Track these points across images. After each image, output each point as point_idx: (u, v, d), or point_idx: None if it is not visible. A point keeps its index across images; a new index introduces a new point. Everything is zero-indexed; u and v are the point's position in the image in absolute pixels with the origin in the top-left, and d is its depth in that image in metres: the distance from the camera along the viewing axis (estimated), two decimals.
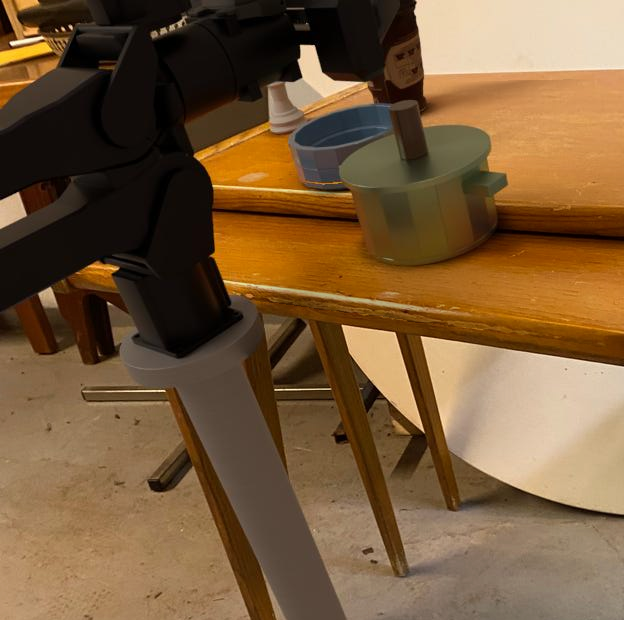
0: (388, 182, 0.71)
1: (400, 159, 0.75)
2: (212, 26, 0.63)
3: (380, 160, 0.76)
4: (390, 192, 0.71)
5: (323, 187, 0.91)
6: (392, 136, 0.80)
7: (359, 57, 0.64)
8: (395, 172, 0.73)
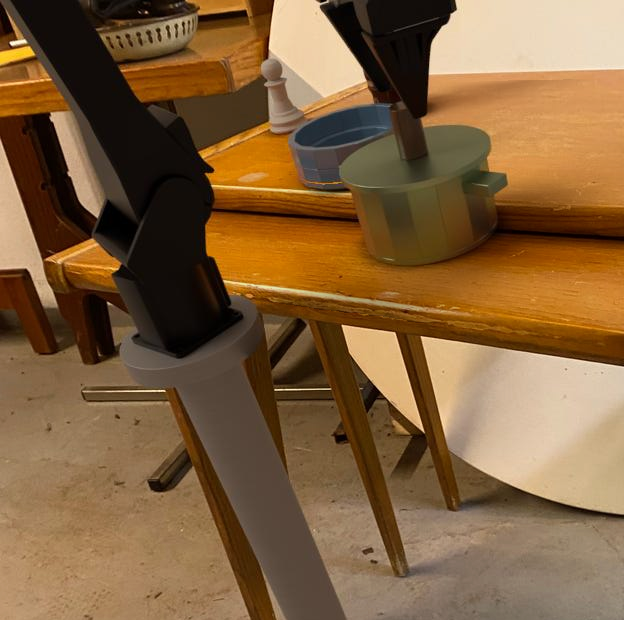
0: (388, 182, 0.71)
1: (400, 159, 0.75)
2: None
3: (380, 160, 0.76)
4: (390, 192, 0.71)
5: (323, 187, 0.91)
6: (392, 136, 0.80)
7: None
8: (395, 172, 0.73)
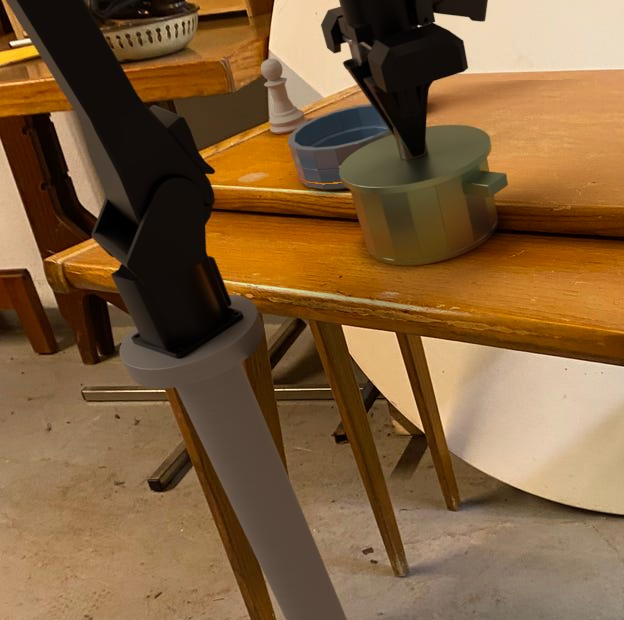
0: (388, 182, 0.71)
1: (400, 159, 0.75)
2: None
3: (380, 160, 0.76)
4: (390, 192, 0.71)
5: (323, 187, 0.91)
6: (392, 136, 0.80)
7: (406, 53, 0.62)
8: (395, 172, 0.73)
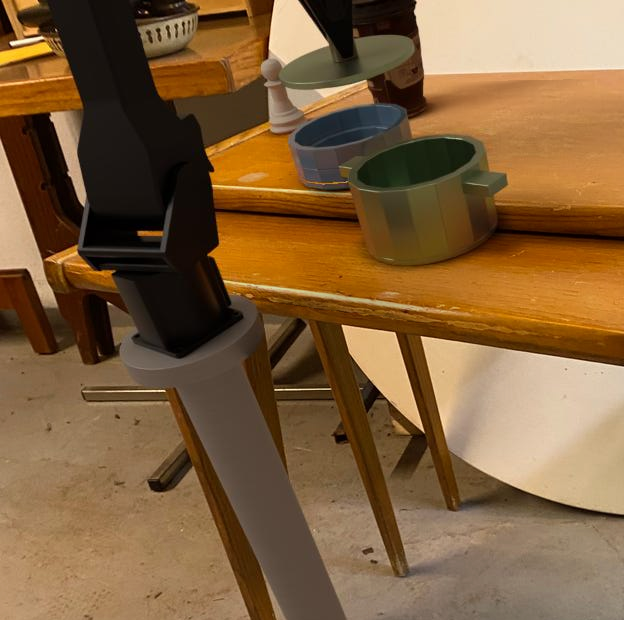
0: (319, 79, 0.81)
1: (333, 62, 0.84)
2: None
3: (316, 63, 0.85)
4: (320, 87, 0.80)
5: (323, 187, 0.91)
6: None
7: None
8: (326, 71, 0.82)
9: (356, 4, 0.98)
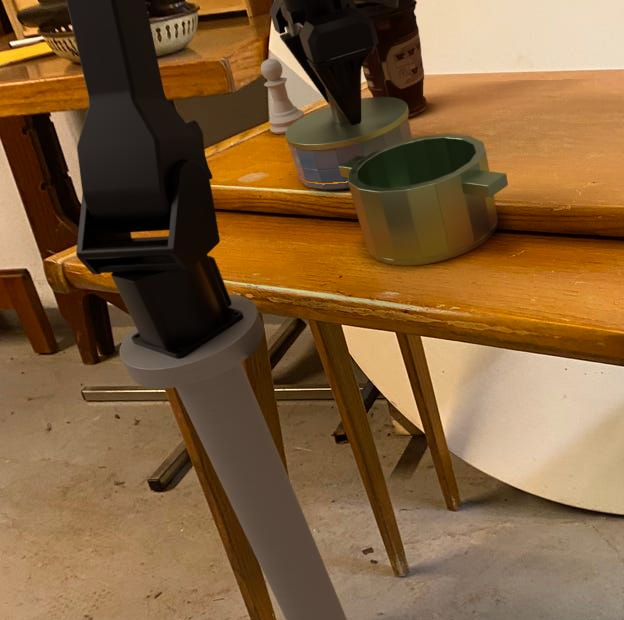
0: (322, 140, 0.89)
1: (334, 123, 0.92)
2: None
3: (319, 124, 0.93)
4: (323, 148, 0.88)
5: (323, 187, 0.91)
6: None
7: (327, 30, 0.79)
8: (329, 133, 0.90)
9: (356, 4, 0.98)
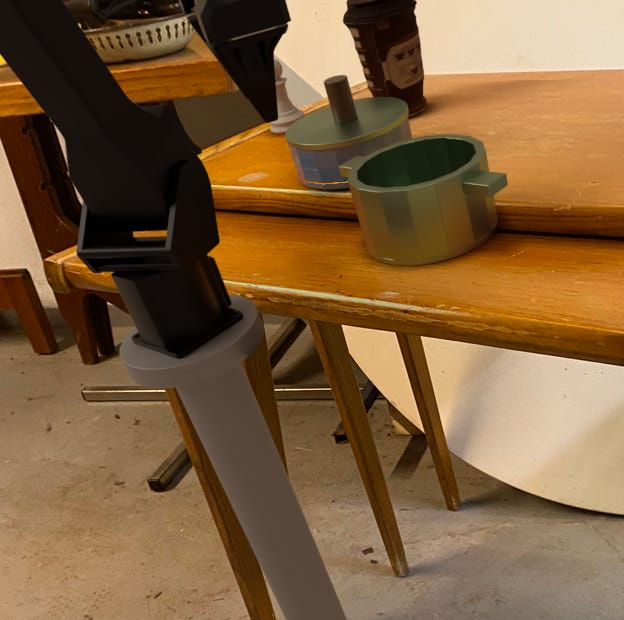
0: (322, 140, 0.89)
1: (334, 123, 0.92)
2: None
3: (319, 124, 0.93)
4: (323, 148, 0.88)
5: (323, 187, 0.91)
6: None
7: (224, 3, 0.64)
8: (329, 133, 0.90)
9: (356, 4, 0.98)
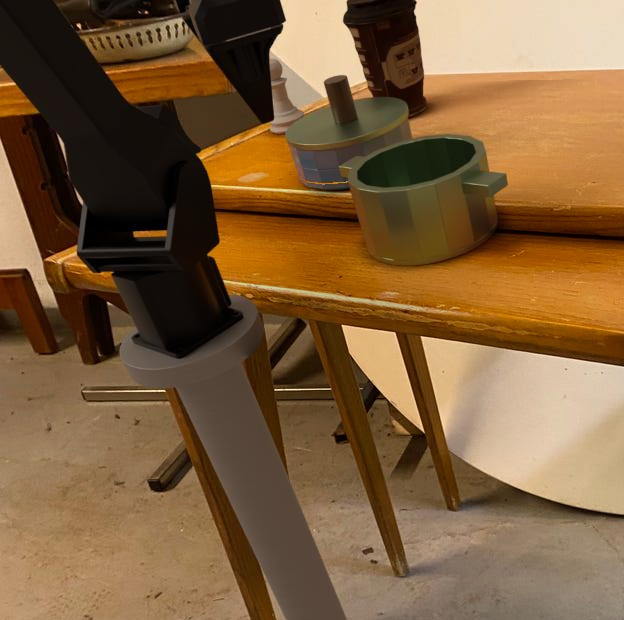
0: (322, 140, 0.89)
1: (334, 123, 0.92)
2: None
3: (319, 124, 0.93)
4: (323, 148, 0.88)
5: (323, 187, 0.91)
6: None
7: (218, 5, 0.63)
8: (329, 133, 0.90)
9: (356, 4, 0.98)
